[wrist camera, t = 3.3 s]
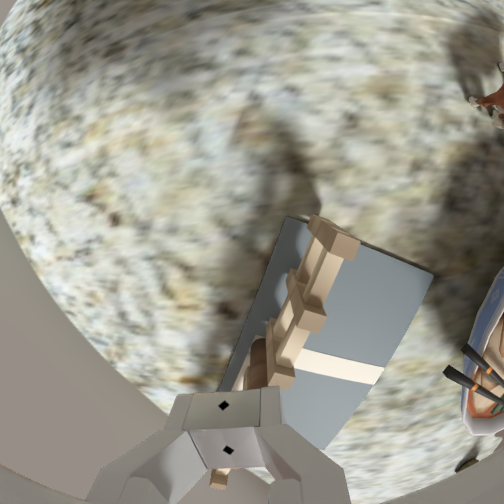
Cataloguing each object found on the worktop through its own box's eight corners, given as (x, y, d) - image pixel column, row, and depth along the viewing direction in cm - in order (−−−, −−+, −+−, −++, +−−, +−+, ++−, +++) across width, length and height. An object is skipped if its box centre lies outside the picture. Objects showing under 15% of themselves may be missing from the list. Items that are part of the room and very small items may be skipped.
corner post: (247, 352, 23) (242, 420, 15) (255, 332, 22) (254, 398, 15) (270, 359, 23) (274, 427, 15) (280, 339, 22) (288, 406, 15)
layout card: (204, 424, 25) (203, 426, 25) (286, 215, 20) (286, 216, 19) (323, 447, 26) (323, 450, 25) (432, 274, 21) (434, 275, 20)
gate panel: (280, 333, 21) (288, 390, 15) (265, 328, 21) (267, 385, 15) (328, 219, 19) (360, 241, 13) (311, 213, 19) (337, 232, 13)
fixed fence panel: (229, 433, 25) (223, 490, 18) (217, 430, 25) (209, 487, 18) (261, 369, 23) (262, 433, 16) (247, 365, 22) (244, 429, 16)
